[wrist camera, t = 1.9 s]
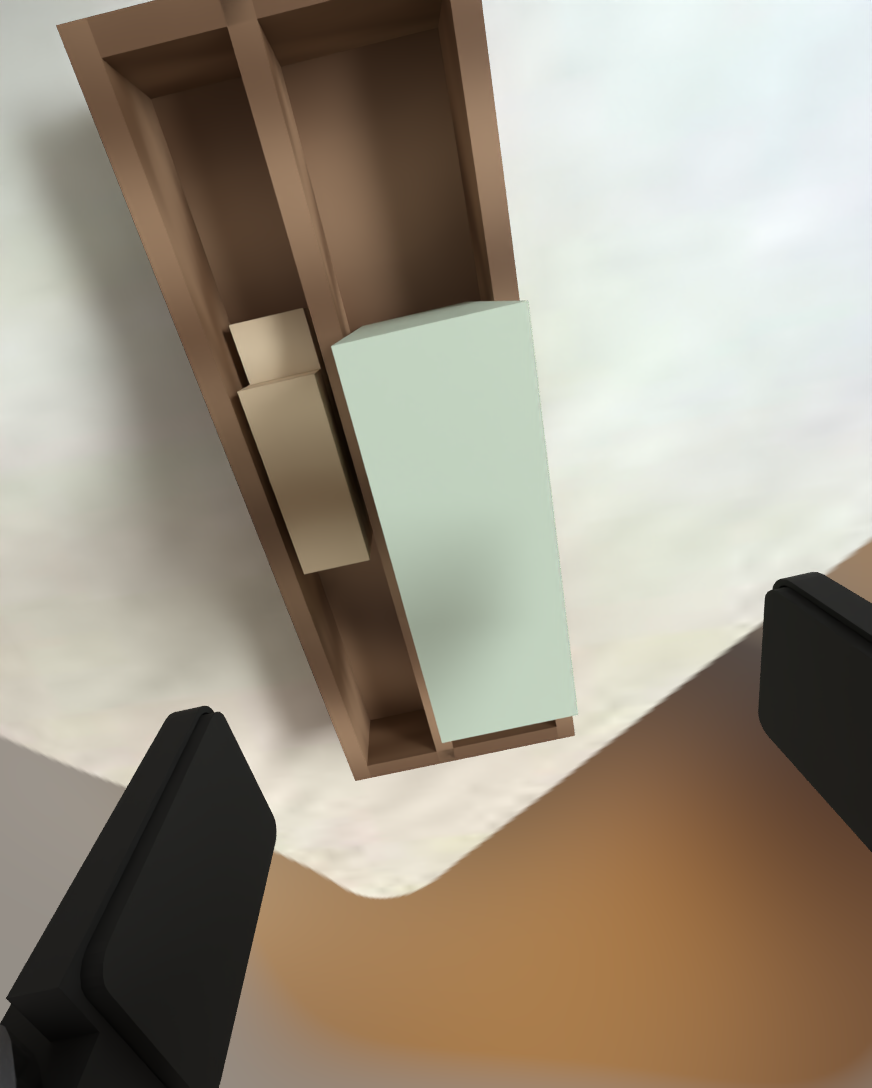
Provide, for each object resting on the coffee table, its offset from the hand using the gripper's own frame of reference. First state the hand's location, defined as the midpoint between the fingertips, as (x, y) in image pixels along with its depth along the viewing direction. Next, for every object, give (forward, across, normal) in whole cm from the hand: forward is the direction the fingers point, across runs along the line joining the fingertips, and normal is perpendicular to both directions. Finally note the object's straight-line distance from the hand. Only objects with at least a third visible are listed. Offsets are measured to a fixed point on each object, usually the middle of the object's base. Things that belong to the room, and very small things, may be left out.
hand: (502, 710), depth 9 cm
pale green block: (+14, 0, -1) cm, 14 cm away
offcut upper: (+13, +5, -2) cm, 14 cm away
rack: (+16, +2, -1) cm, 16 cm away
